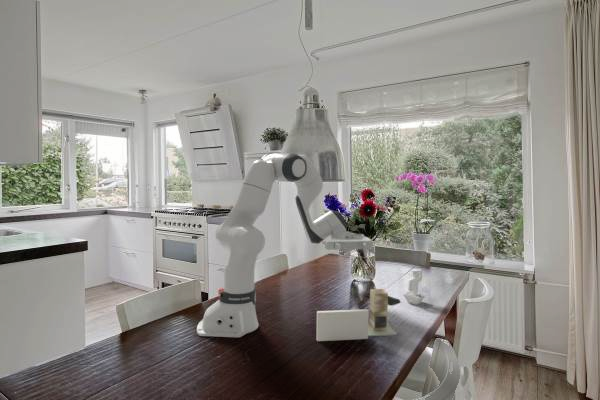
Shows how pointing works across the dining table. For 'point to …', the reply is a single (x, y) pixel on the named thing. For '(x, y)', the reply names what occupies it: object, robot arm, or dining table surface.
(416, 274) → the figurine
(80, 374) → the dining table surface
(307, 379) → the dining table surface
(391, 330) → the pad
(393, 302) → the phone
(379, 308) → the marked block
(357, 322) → the upright white panel
